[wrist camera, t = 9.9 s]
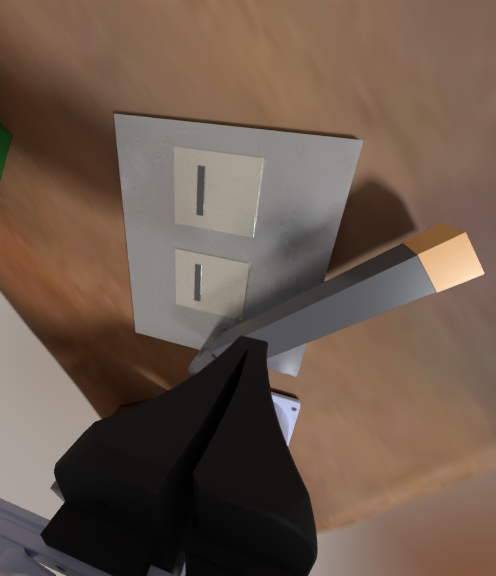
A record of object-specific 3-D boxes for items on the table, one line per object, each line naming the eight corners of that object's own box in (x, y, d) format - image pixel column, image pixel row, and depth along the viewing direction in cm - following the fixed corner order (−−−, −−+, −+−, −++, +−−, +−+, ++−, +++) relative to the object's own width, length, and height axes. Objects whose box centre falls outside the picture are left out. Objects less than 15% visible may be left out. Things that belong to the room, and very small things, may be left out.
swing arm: (239, 353, 21) (229, 374, 18) (222, 331, 20) (211, 351, 18) (458, 258, 14) (484, 274, 12) (441, 222, 13) (465, 232, 11)
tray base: (297, 371, 22) (292, 420, 18) (139, 328, 25) (101, 361, 21) (361, 141, 14) (380, 127, 10) (119, 115, 17) (51, 95, 13)
